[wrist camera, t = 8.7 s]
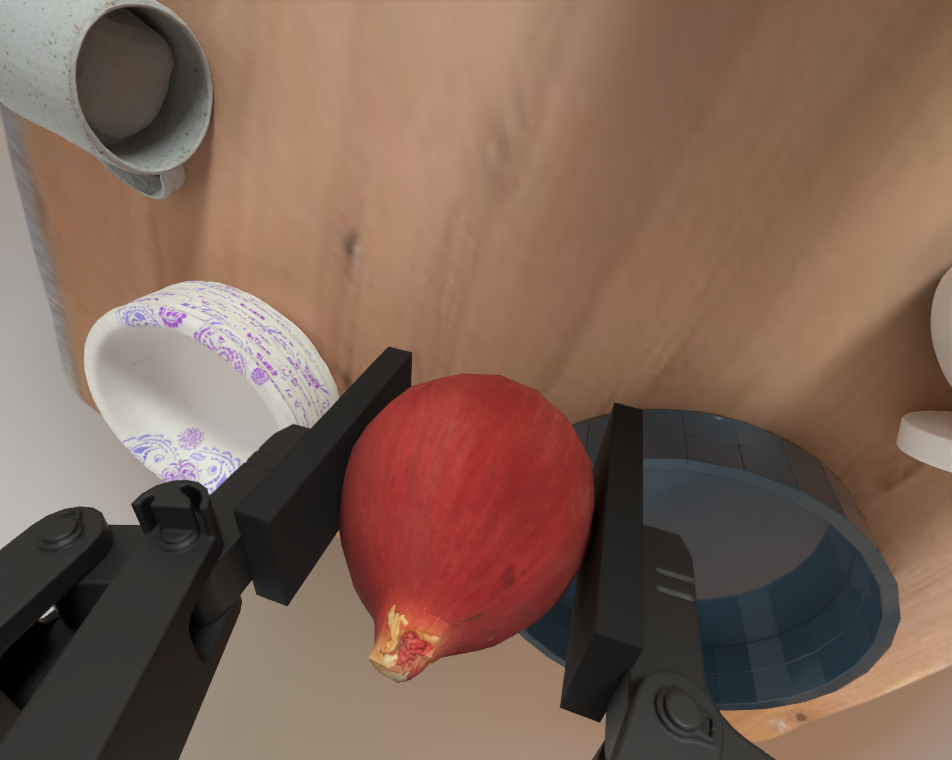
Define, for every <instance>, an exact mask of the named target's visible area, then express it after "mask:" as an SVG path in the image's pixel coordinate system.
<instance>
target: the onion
mask: <svg viewBox="0 0 952 760" xmlns="http://www.w3.org/2000/svg"><path fill="white" fill-rule="evenodd" d="M594 521H595V505H594V482H593V473H592V464H591V460H590V458H589V456H588V454H587V452H586V451H585V449H584V447H583V445H582V443H581V441H580V440H579V438H578V436H577V434H576V432H575V430H574V428H573V427H572V425H571V424H570V423H569V421H568V420H567V418H566V417H565V415H564V414H563V413H561V412H560V411H559V410H558V409H557V408H556V407H555V406H553V405H552V404H551V403H550V402H549V401H548V400H547V399H546V398H544V397H543V396H542V395H541V394H540V393H539V392H538V391H536V390H534V389H532V388H529V387H527V386H525V385H522V384H520V383H518V382H515V381H513V380H510V379H508V378H506V377H503V376H501V375H483V374H459V375H453V376H448V377H444V378H440V379H436V380H433V381H429V382H426V383H422V384H419V385H415V386H411V387H410V388H409V389H407V390H406V391H405V392H403V393H402V394H401V395H399V396H398V397H397V398H395V399H394V400H393V401H391V402H390V403H389V404H388V405H387V406H386V407H385V408H384V409H383V410H382V411H381V412H380V413H379V414H378V415H377V416H376V417H375V418H374V419H373V420H372V421H371V422H370V423H369V424H368V425H367V426H366V428H365V429H364V431H363V432H362V434H361V436H360V437H359V439H358V440H357V442H356V443H355V445H354V447H353V448H352V451H351V455H350V458H349V462H348V465H347V468H346V472H345V477H344V482H343V488H342V494H341V499H340V508H339V532H340V538H341V545H342V548H343V551H344V555H345V558H346V561H347V565H348V568H349V572H350V575H351V579H352V582H353V586H354V588H355V590H356V592H357V594H358V596H359V598H360V600H361V602H362V603H363V605H364V606H365V608H366V609H367V610H368V612H369V613H370V615H371V616H372V618H373V620H374V623H375V645H374V647H373V649H372V652H371V654H370V656H369V659H370V661H371V663H372V664H373V666H374V668H376V669H377V670H378V671H379V672H380V673H381V674H383V675H384V676H386V677H388V678H391V679H392V680H394V681H395V682H397V683H400V682H404V681H408V680H411V679H412V678H413V677H415V676H416V675H418V674H419V673H420V672H422V671H423V670H424V669H425V668H426V667H427V666H428V665H429V664H430V663H433V662H435V661H437V660H438V659H440V658H441V657H447V656H452V655H457V654H462V653H468V652H473V651H478V650H482V649H486V648H489V647H493V646H495V645H497V644H499V643H501V642H503V641H504V640H506V639H508V638H510V637H512V636H514V635H515V634H517V633H519V632H521V631H522V630H524V629H526V628H528V627H529V626H531V625H533V624H535V623H536V622H537V621H538V620H539V619H541V618H542V617H543V616H544V615H546V614H547V613H548V612H549V611H551V609H552V608H553V607H554V606H555V605H556V603H557V602H558V601H559V600H560V599H561V597H562V596H563V595H564V594H565V592H566V590H567V589H568V587H569V586H570V584H571V582H572V581H573V579H574V578H575V576H576V574H577V573H578V571H579V570H580V568H581V566H582V564H583V561H584V559H585V557H586V555H587V553H588V551H589V549H590V546H591V541H592V535H593V528H594Z"/></svg>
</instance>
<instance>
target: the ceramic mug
mask: <svg viewBox="0 0 952 760" xmlns="http://www.w3.org/2000/svg"><path fill="white" fill-rule="evenodd" d="M0 102H1V103H2V104H4V105H5V106H6V107H8V108H9V109H10V110H12V111H13V112H15V113H17V114H18V115H20V116H22V117H24V118H26V119H28V120H29V121H31V122H33V123H35V124H37V125H39V126H41V127H44V128H46V129H48V130H50V131H52V132H54V133H56V134H57V135H59V136H61V137H62V138H64V139H66V140H67V141H69V142H71V143H73V144H75V145H77V146H79V147H81V148H82V149H84V150H86V151H88V152H89V153H91V154H93V155H95V156H96V158H97V159H98V160H99V161H101V162H102V163H103V164H104V165H105V166H106V167H107V168H108V169H109V170H110V171H111V172H112V173H113V174H114V175H115V176H117V177H118V178H119V179H120V180H122V181H123V182H124V183H126V184H127V185H128V186H130V187H132V188H133V189H135V190H136V191H138V192H140V193H142V194H143V195H145V196H148V197H150V198H153V199H157V200H161V199H165V198H167V197H168V196H170V195H171V194H172V193H174V192H175V191H176V190H178V189H179V188H180V187H181V186H182V185H183V184H184V182H185V170H184V163H185V162H186V161H187V160H188V159H189V158H191V157H192V156H193V155H194V153H195V152H196V151H197V149H198V148H199V147H200V145H201V143H202V141H203V139H204V137H205V135H206V133H207V130H208V128H209V123H210V119H211V115H212V106H213V85H212V76H211V72H210V68H209V64H208V61H207V58H206V55H205V53H204V51H203V49H202V47H201V45H200V43H199V41H198V39H197V37H196V36H195V35H194V33H193V32H192V31H191V29H190V28H189V27H188V25H187V24H186V23H185V22H184V21H183V20H182V19H181V18H180V17H179V16H178V15H177V14H175V13H174V12H173V11H172V10H171V9H169V8H167V7H166V6H164V5H162V4H161V3H159V2H157V1H155V0H0ZM159 174H160V178H159V177H157V176H155V175H159Z"/></svg>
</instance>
